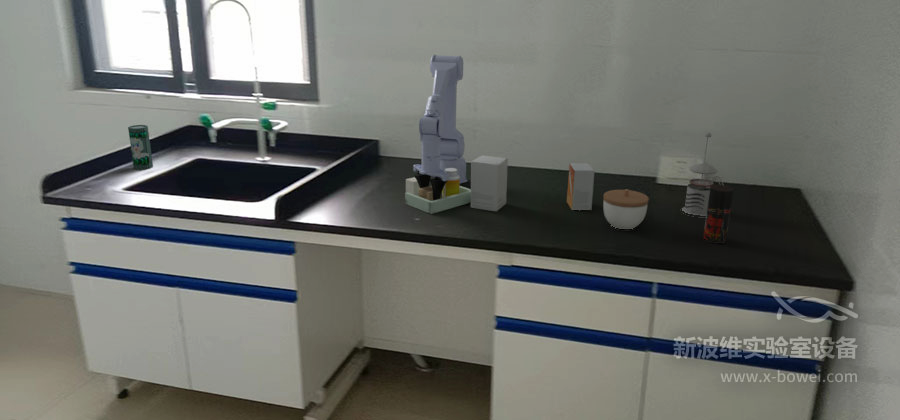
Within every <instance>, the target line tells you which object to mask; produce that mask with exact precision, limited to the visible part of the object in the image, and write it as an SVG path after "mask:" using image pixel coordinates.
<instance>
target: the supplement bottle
mask: <svg viewBox="0 0 900 420" xmlns="http://www.w3.org/2000/svg"><path fill="white" fill-rule="evenodd" d="M445 172H446V173H448V174H449V180H448V181H447V182H446V184H445V186H444V188H443V190H442V195H441V198H445V197H449V196H452V195H456V194H459V187H460V186H461V184H460V177H459V175H457V169H455V168H446V169H445Z"/></svg>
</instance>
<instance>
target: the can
mask: <svg viewBox="0 0 900 420" xmlns="http://www.w3.org/2000/svg"><path fill="white" fill-rule="evenodd" d="M127 129H128V136H129V143H130V150H131V151H130V152H131V158H132V164H133V169H134V170H136V171H138V170H139V171H142V170H143V171H145V170H149V169H152V168H154V163H153V156H152V155H153V154H152V149H151V140H150V134H149V125H147V124H134V125H130V126H128V127H127Z"/></svg>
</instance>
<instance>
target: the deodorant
mask: <svg viewBox="0 0 900 420" xmlns="http://www.w3.org/2000/svg"><path fill="white" fill-rule="evenodd" d="M709 191H710V194H709V201H708V208H707V214H706V217H705V222H704V229H703V235H702V239H703V238H704V239H706V240H708V241H711V242H724V241H727V236H728V230H729V229H728V228H729V222H730V217H731V210H732V203H733V198H734V192H735V189H734V187H731V186H728V185H724V184H723V185H722V184H721V185H720V184H714V185H712V186H711V187H710V188H709ZM704 239H703V240H704Z"/></svg>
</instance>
